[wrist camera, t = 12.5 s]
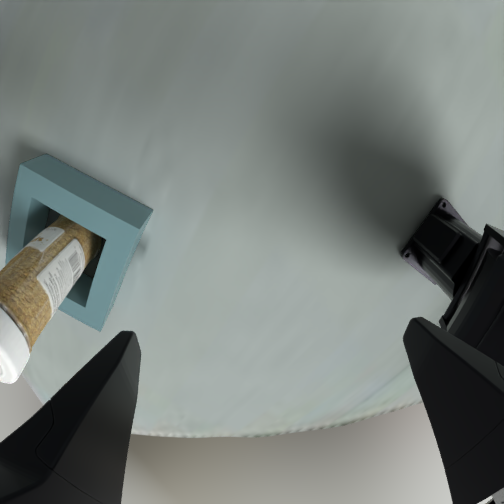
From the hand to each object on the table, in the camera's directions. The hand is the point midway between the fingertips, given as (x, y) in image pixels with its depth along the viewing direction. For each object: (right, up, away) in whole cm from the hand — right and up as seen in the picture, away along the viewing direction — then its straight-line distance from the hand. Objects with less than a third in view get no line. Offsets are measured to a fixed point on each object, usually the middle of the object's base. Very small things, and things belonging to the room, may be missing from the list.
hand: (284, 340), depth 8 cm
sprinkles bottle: (-15, +4, +12) cm, 19 cm away
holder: (-15, +4, +12) cm, 19 cm away
